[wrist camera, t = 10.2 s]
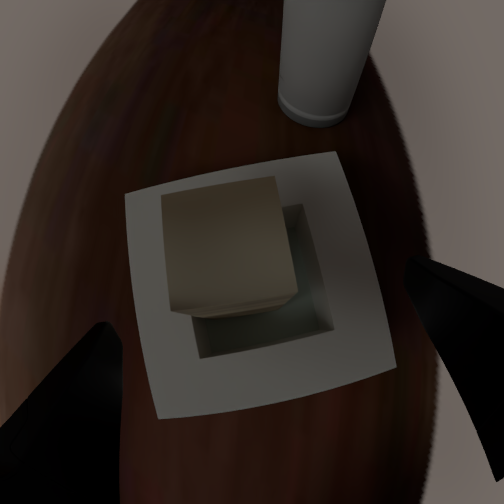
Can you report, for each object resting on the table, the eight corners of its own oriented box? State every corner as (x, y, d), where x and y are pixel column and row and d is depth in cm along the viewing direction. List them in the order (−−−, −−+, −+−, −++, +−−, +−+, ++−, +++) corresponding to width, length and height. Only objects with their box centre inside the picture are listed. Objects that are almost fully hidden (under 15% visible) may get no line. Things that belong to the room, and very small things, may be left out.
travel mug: (260, 95, 24) (258, -123, 4) (316, 72, 25) (347, -113, 5) (304, 142, 23) (352, -113, 3) (361, 113, 23) (433, -86, 4)
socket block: (383, 368, 18) (413, 377, 14) (169, 415, 18) (146, 436, 13) (330, 171, 22) (344, 136, 17) (136, 211, 21) (110, 184, 17)
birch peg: (277, 310, 19) (298, 291, 9) (215, 319, 19) (170, 311, 9) (266, 249, 20) (274, 175, 10) (206, 259, 20) (160, 195, 10)
